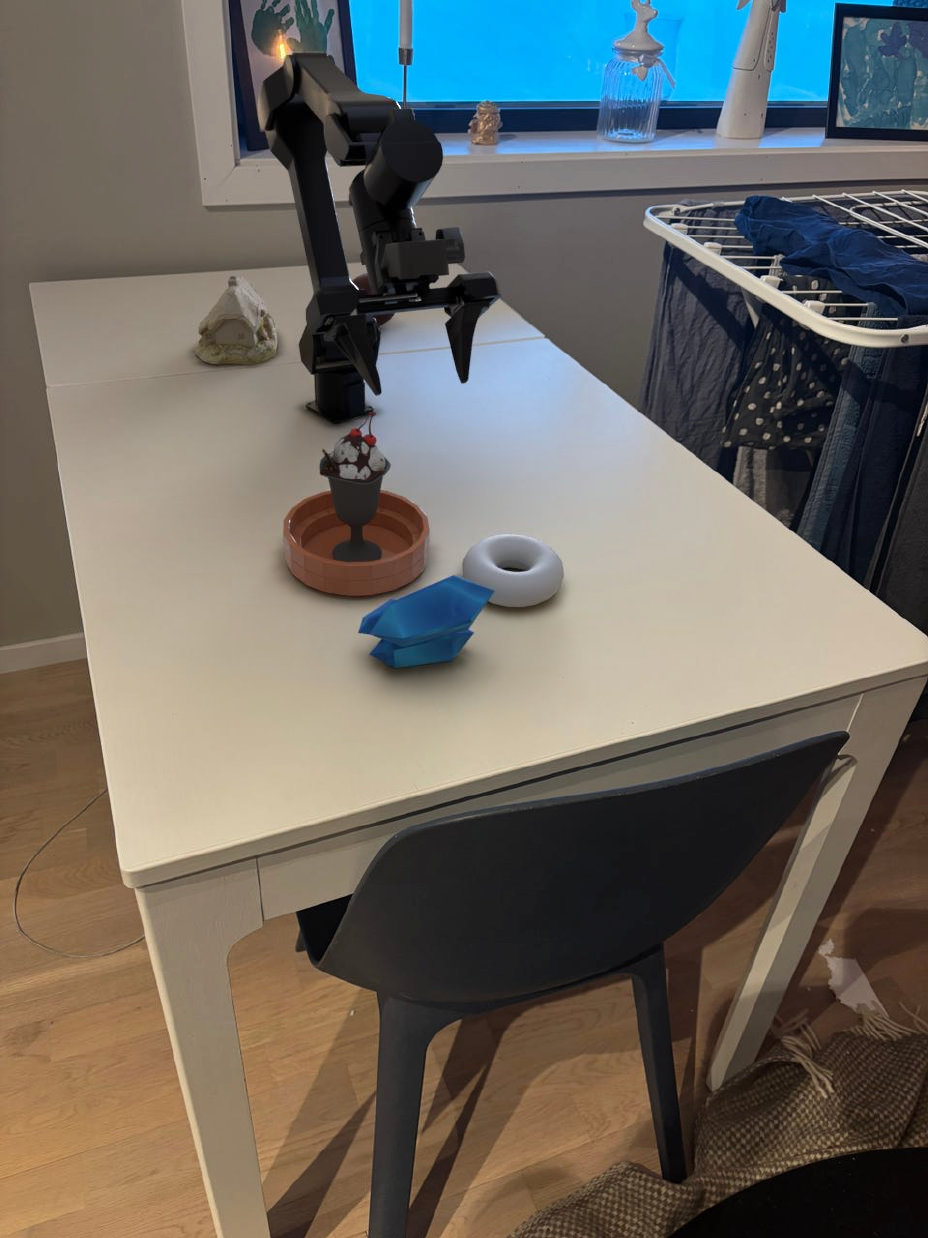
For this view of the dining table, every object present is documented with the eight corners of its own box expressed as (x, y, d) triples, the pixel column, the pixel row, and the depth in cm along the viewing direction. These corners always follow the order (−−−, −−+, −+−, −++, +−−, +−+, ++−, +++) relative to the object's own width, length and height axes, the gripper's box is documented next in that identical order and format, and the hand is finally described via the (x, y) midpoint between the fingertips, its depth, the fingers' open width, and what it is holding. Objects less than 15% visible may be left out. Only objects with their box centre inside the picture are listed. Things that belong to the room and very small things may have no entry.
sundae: (400, 544, 96) (402, 408, 86) (374, 579, 91) (372, 438, 81) (341, 529, 97) (337, 394, 88) (312, 563, 92) (304, 424, 83)
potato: (337, 332, 141) (336, 280, 136) (353, 311, 148) (352, 261, 144) (389, 338, 140) (390, 286, 136) (403, 317, 148) (404, 267, 143)
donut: (443, 569, 94) (491, 624, 87) (444, 540, 92) (493, 594, 85) (529, 548, 98) (581, 599, 91) (532, 519, 95) (586, 569, 88)
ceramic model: (270, 368, 129) (264, 296, 123) (188, 364, 129) (179, 291, 123) (286, 331, 140) (282, 263, 134) (212, 326, 140) (204, 258, 134)
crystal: (339, 581, 79) (472, 536, 81) (364, 653, 85) (486, 610, 87) (360, 634, 74) (501, 585, 75) (384, 707, 79) (515, 660, 81)
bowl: (258, 551, 94) (254, 517, 92) (368, 506, 102) (368, 473, 100) (344, 618, 86) (342, 583, 84) (456, 564, 94) (458, 530, 92)
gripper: (312, 199, 81) (352, 377, 81) (505, 187, 87) (540, 352, 88) (289, 251, 91) (324, 409, 92) (463, 237, 98) (495, 384, 99)
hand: (422, 388), depth 92 cm, fingers open, 9 cm apart
